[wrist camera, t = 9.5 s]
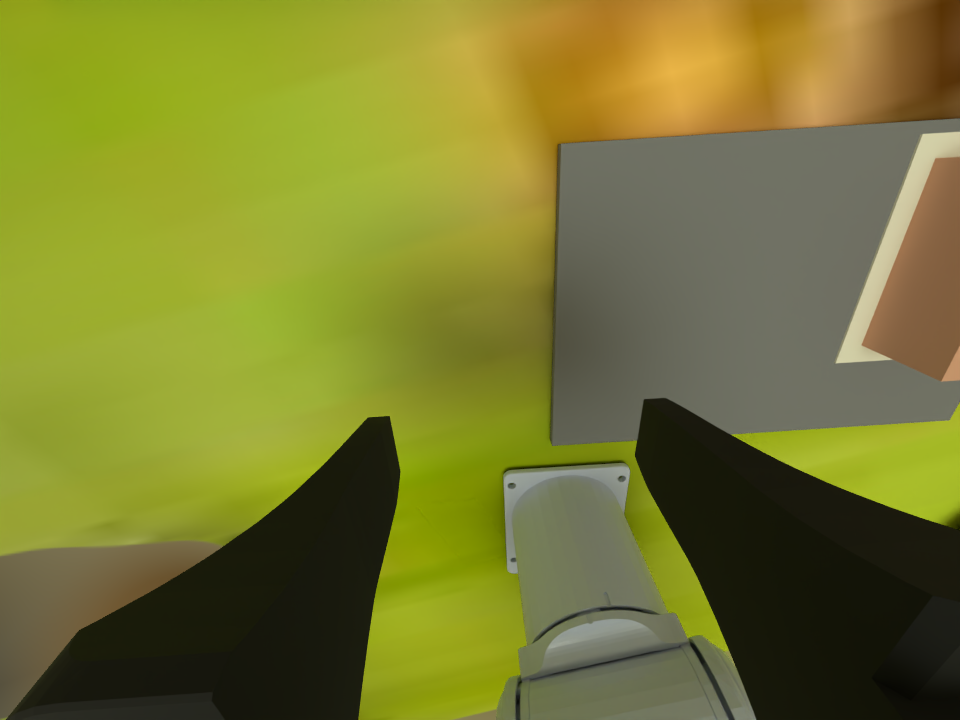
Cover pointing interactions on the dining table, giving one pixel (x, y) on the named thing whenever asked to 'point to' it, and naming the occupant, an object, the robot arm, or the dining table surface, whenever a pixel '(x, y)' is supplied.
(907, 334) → the card box
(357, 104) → the dining table surface
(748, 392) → the mat
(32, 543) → the dining table surface
